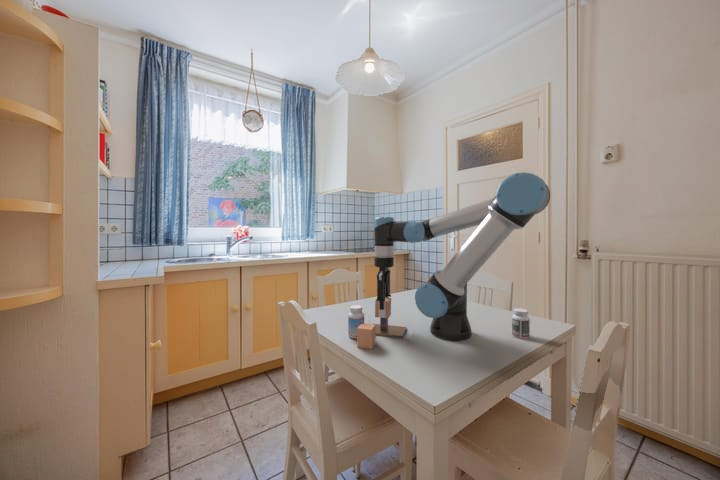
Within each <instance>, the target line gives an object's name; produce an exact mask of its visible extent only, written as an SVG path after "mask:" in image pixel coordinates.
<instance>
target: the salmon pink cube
mask: <svg viewBox="0 0 720 480" xmlns="http://www.w3.org/2000/svg"><path fill="white" fill-rule="evenodd" d="M385 301H386V318H388V319H390V316H391V315H392V298H391V297H389V298H385ZM374 302H375V303H374V305H375V306H374V308H375V309H374V317H375V318H381V317H379V301H376V299H375V301H374Z"/></svg>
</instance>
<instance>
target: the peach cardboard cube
mask: <svg viewBox="0 0 720 480" xmlns="http://www.w3.org/2000/svg"><path fill="white" fill-rule="evenodd" d="M373 324H374V323H371V324H370V323H364V324H363V323H361V324H360V326H359V327H358V328H357V339H356V343H357V344H356V346H357V348H360V349H361V348H362V349H369V350H372V349H373V348H374V346H375V345H376V343H377V341H376V338H377V337H376V336H377V335H376V325H373Z"/></svg>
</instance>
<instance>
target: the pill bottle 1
mask: <svg viewBox="0 0 720 480" xmlns="http://www.w3.org/2000/svg"><path fill="white" fill-rule="evenodd" d="M349 310H350V311H349V312H348V314H347V315H348V316H347V317H348V318H347V321H348V322H347V326H348V329H347V331H348V337H349V338H350V339H356V340H357V328H358V327H359V326H360V324H361V323H363V324H365V313H364V312H363V306H362V305H359V304H356V305H351V306H349Z"/></svg>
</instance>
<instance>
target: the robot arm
mask: <svg viewBox="0 0 720 480" xmlns="http://www.w3.org/2000/svg"><path fill="white" fill-rule="evenodd" d="M496 189H497V190H496V193H495V194H496V195H495V196H494V197H493V198H489V199H487V200H484V201H480V202H477V203H475V204H472V205H469V206H465V207H461V208H460V209H456V210H454V211H451V212H447V213H444V214H442V215H438V216H435V217H432V218H430V219H427V220H423V221H399V222H398V221H395V218H394V217H392V216H378V217H375V220H374V227H373V231H374V232H373V233H374V247H373V248H372V250H373V251H374V256H375V257H374V267H376V268H378V269H379V270H378V271H377V274H376V280H377V281H376V282H377V283H376V284H377V285H376V286H377V287H376V291H377V292H376V293H377V294H376V298H375V300H376V301H379V317H378V318H380V317H381V318H386V301H385V298H391V297H392V294H391V270H390V269H389V268H392V267H394V263H395V262H394V260H395V259H394V257H393V256H395V255H394V254H395V245H394V244H395V243H398V242H399V243H411V244H412V243H413V244H414V243H421V242H426V241H429V240H432V239H434V238H437V237H441V236H444V235H449V234H451V233H455V232H459V231H462V230H466V229H470V228H473V227H476V228H475V229H474V231H473V232H471V234H470V235H469V236H468V237H467V239H466V240H465V242H464V243H463V244H462V245H461V247H460V248H459V249H458V251H457V252H456V253H455V254H454V255H453V256H452V257H451V258H450V260H449V261H448V263H447V264H446V265H445V266H444V268H443V269H441V270H435V271H434V273H433V274H432V275H431V276H430V277H429V279H428V280H427V281H426V282H425V283H423V284H421V285H419V286H418V287H417V289H416V291H415V293H414V294H415V295H414V300H415V305H416V307H417V309H418V311H419V312H420V313H421V314H423V315H424V316H426V317H427V318H432V320H431V323H430V327H429V328H430V329H429V330H430V333H431V334H432V335H433V336H434V337H436V338H440V339H443V340H446V341H447V340H449V341H465V340H469V339H470V338H471V337H472V327H471V325H470V324H471V323H470V321H469V318H468V315H467V314H468V313H467V312H468V310H467V306H468V305H467V304H468V296H467V295H468V294H467V293H468V283H469V281H471V280H472V278H473V277H474V276H475V274H477V272H478V271H479V270H480V269H481V268H482V267H483V266H484V265H485V264H486V262H487V261H488V260H489V259H490V258H491V256H493V254H494V253H495V252H496V251H497V250H498V249H499V247H500V246H501V245H502V244H503V243H504V241H506V239H507V238H509V236H510V235H511V234H512V232H513V231H515V230H520V229H523V228H524V227H525V226H526V225H527V224H528V223H529V222H530V221H531V220H532V218H533V217H534V216H535V215H537V214H539V213H541V212H543V211H544V210H545V209H546V208H547V207H548V205H549V203H550V201H551V191H550V188H549V186H548V185H547V183H546V182H545V180H543V179H542V177H540V176H539V175H536V174H534V173H530V172H525V171H524V172H522V171H521V172H517V173H512V174H511V175H509V176H507V177H505V178H504V179H503V180H502V181H501V183H500V184H499V185H498V188H496Z"/></svg>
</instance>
